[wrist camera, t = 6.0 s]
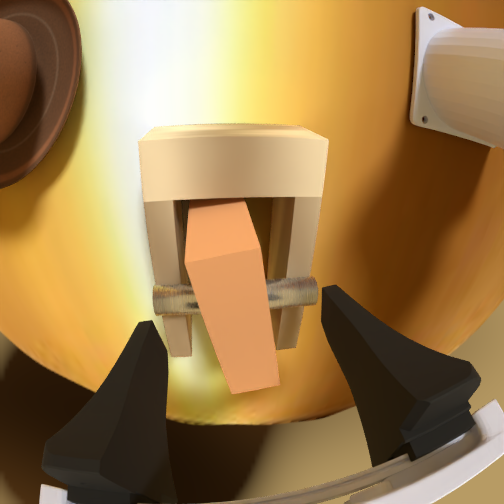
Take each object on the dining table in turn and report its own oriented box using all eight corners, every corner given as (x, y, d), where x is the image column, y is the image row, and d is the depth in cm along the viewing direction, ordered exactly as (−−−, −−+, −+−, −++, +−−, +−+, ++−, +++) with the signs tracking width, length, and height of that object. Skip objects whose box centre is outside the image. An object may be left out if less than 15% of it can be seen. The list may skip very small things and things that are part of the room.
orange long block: (239, 183, 14) (260, 247, 9) (259, 305, 19) (280, 384, 14) (190, 193, 14) (184, 262, 9) (222, 312, 19) (232, 394, 14)
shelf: (299, 125, 15) (343, 147, 10) (281, 304, 21) (301, 365, 16) (154, 126, 14) (129, 149, 9) (174, 311, 20) (170, 376, 15)
